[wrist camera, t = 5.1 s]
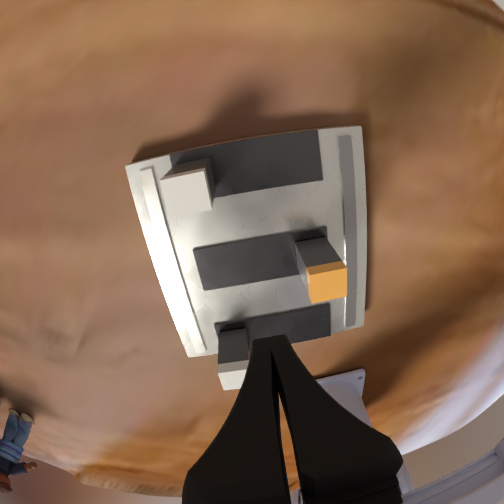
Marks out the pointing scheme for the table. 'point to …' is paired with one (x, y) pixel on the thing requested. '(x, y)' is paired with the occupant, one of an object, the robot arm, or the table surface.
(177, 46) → the table surface
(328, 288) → the breaker
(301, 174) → the plate
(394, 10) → the table surface
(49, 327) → the table surface
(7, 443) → the doll family
